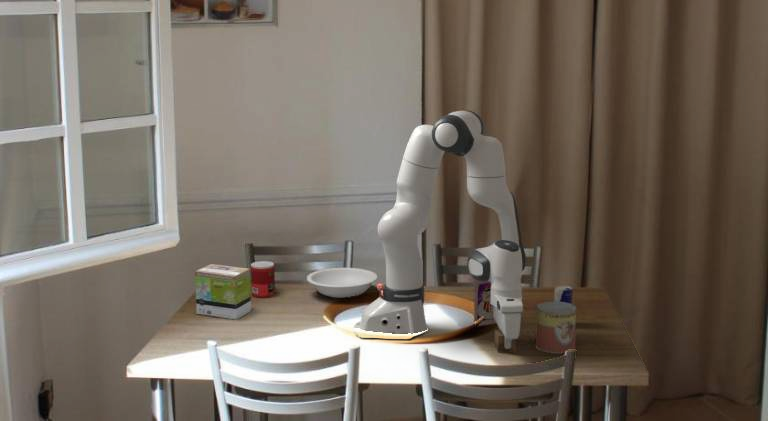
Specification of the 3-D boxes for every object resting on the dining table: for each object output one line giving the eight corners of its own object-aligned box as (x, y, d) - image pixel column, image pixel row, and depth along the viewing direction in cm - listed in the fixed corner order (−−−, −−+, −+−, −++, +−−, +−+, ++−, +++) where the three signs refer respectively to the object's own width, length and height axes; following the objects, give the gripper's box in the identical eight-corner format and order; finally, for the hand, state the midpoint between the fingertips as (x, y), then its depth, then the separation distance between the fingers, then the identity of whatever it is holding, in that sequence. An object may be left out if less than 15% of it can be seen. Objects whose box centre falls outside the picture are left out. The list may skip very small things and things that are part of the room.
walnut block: (498, 352, 294) (498, 335, 293) (494, 346, 299) (495, 330, 298) (515, 352, 295) (515, 335, 294) (511, 346, 299) (512, 329, 298)
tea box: (195, 315, 330) (193, 270, 327) (212, 306, 339) (210, 262, 336) (236, 320, 325) (234, 275, 322) (252, 311, 334) (250, 267, 331)
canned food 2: (549, 355, 292) (550, 314, 289) (528, 343, 302) (529, 304, 299) (582, 349, 296) (584, 309, 294) (561, 338, 306) (562, 299, 304)
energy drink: (571, 328, 315) (572, 290, 312) (553, 327, 316) (554, 289, 314) (571, 323, 320) (572, 285, 318) (554, 322, 321) (555, 284, 319)
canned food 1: (273, 298, 348) (272, 266, 345) (250, 298, 348) (249, 266, 346) (276, 291, 355) (275, 261, 353) (253, 292, 355) (252, 261, 353)
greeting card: (475, 327, 316) (476, 280, 313) (463, 320, 323) (463, 274, 320) (507, 322, 321) (508, 275, 318) (494, 315, 328) (495, 270, 325)
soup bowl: (314, 284, 364) (314, 266, 363) (382, 286, 361) (382, 268, 360) (300, 304, 341) (299, 285, 340) (372, 307, 338) (371, 287, 336)
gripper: (488, 287, 303) (487, 332, 306) (502, 308, 284) (501, 356, 286) (509, 287, 304) (508, 332, 307) (524, 308, 284) (523, 355, 287)
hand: (505, 344), depth 296 cm, fingers closed on walnut block, 5 cm apart
